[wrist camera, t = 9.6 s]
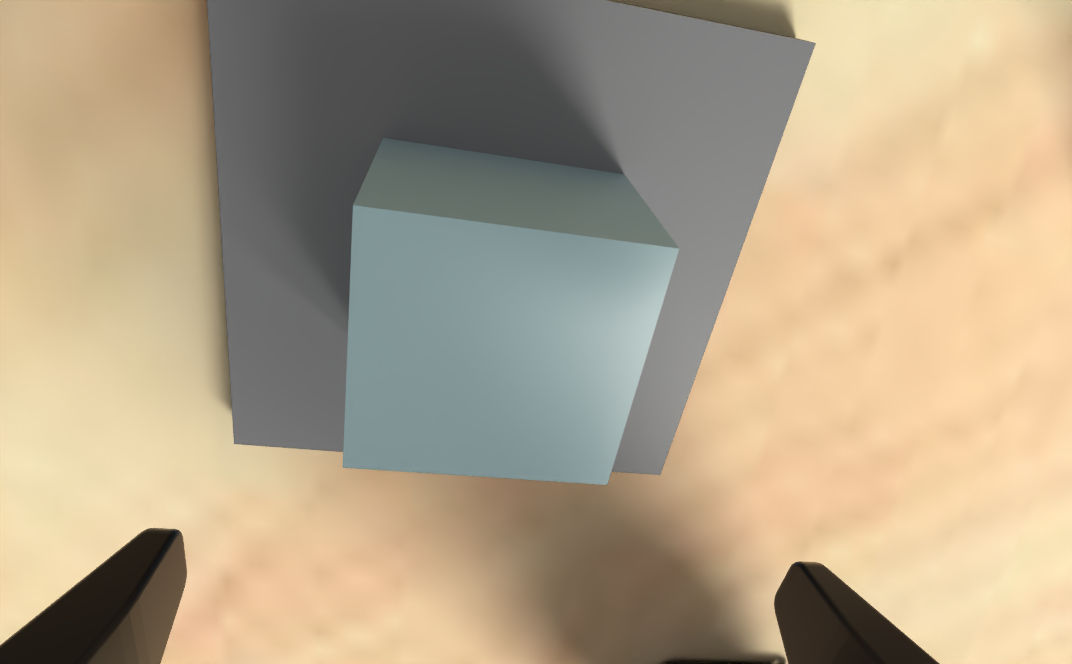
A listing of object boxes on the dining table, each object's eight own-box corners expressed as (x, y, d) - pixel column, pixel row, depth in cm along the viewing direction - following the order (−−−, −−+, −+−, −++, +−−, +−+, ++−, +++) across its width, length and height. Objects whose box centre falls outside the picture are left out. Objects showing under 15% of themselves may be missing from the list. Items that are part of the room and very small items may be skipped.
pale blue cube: (624, 174, 17) (679, 248, 13) (576, 370, 20) (607, 485, 16) (383, 138, 16) (352, 205, 12) (370, 350, 19) (342, 467, 14)
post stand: (797, 38, 17) (902, 64, 13) (652, 455, 23) (691, 557, 19) (217, -80, 14) (121, -94, 10) (243, 423, 21) (192, 533, 17)
